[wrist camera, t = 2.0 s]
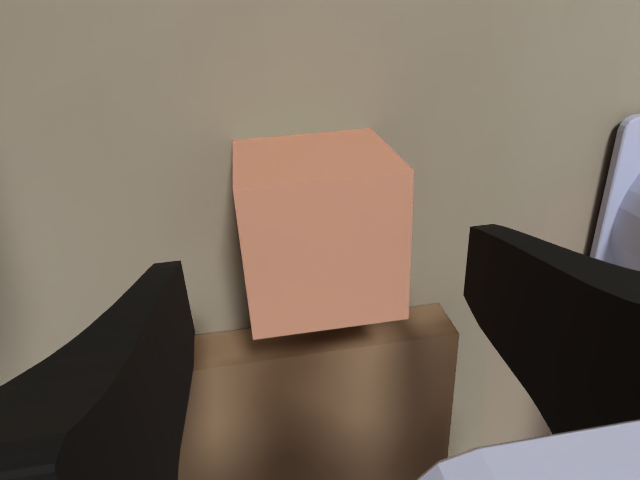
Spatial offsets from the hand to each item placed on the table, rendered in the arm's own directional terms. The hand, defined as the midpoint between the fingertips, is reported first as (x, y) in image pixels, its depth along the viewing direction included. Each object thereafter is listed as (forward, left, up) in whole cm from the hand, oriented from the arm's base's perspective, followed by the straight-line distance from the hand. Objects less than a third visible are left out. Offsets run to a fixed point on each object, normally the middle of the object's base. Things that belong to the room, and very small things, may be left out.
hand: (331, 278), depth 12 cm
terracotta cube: (0, 0, -6) cm, 6 cm away
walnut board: (+1, +9, -5) cm, 10 cm away
